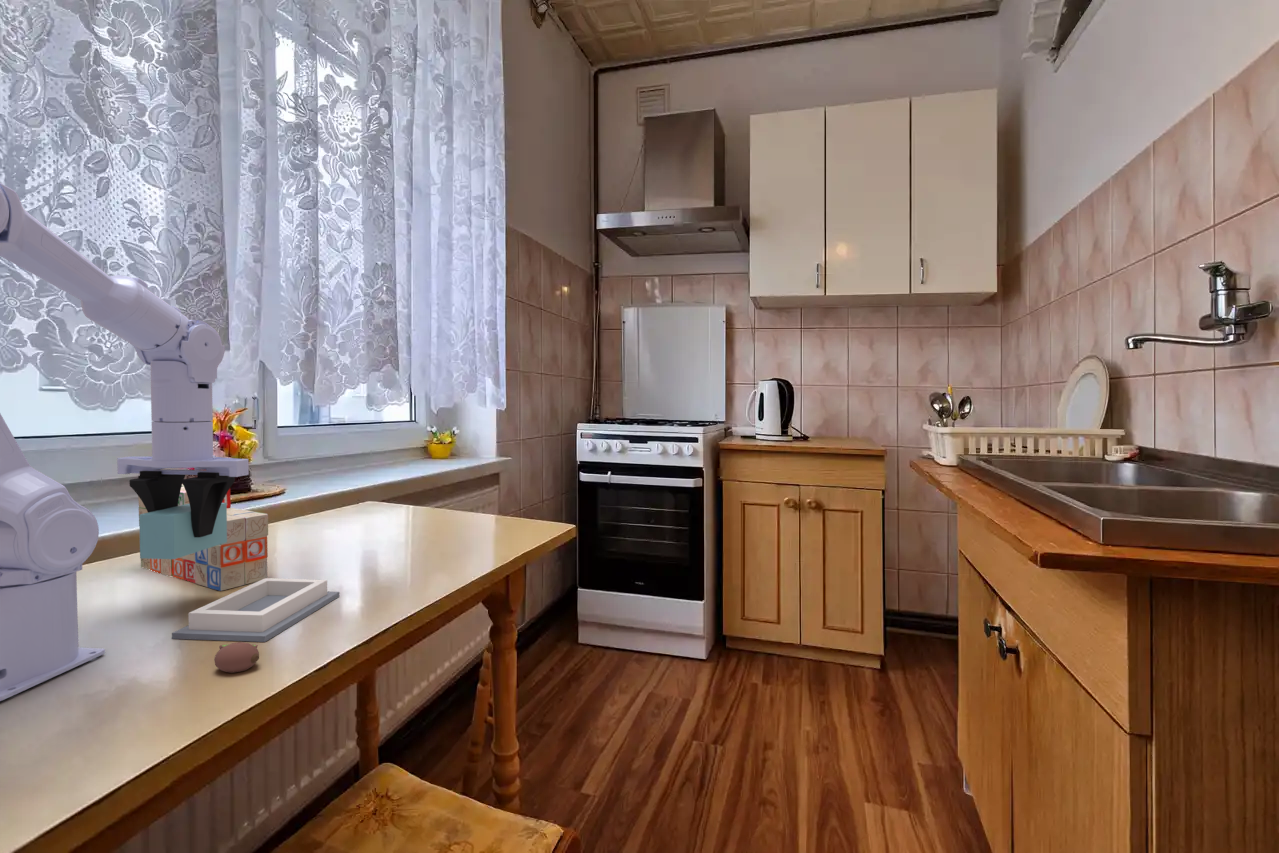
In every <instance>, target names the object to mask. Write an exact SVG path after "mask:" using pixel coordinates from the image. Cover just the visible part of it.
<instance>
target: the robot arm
mask: <svg viewBox="0 0 1279 853" xmlns="http://www.w3.org/2000/svg"><path fill="white" fill-rule="evenodd" d="M0 257H2V258H3V259H6V260H7V261H8V262H11V263H12V264H15V265H16V266H18V267H20V268H21V269H23V270H26V271H27V272H28V273H31V274H32V275H34V276H35V277H38V278H40V279H41V280H43V281H45V282H47V283H49V284H50V285H52V286H54V287H56V288H58V289H60V290H62V291H63V292H66V293H67V294H69V295H71V296H72V297H75V298H77V299H78V300H79V301H80V303H81V310H82V313H83V314H84V316H85V317H86V318H87V319H88V320H89V321H91V322H93V323H95V324H97V325H98V326H100V327H102V328H104V329H105V330H107V331H108V332H110V333H112V334H114V335H115V336H117V337H119V338H121V339H122V340H124V341H126V342H127V343H129V344H130V345H131V346H132V347H133V348H134V349H135V352H136V355H137V356H138V358H139V360H141V362H142V363H143V364H144V365H149V367H150V404H151V406H150V410H151V414H150V416H151V456H147V455H146V456H141V455H139V456H134V455H133V456H124V457H117V459H116V460H117V462H116V463H117V470H116V471H117V474H118V475H128V474H129V475H130V474H139V475H138V477H137V478H132V479H131V478H130V479H129V481H128V484H129V487H130V488H131V489H132V490H133V491H134V493H135V494H137V496H139V498H140V499H141V500H142V502H143V504H144V506H145V507H146V509H147V512H153V511H158V510H162V509H167V508H171V507H176V506H178V500H179V495H180V490H181V487H182V484H183V486H184V488H185V490H186V493H187V496H188V499H189V503H190V508H191V521H192V530H193V535H194V537H203V536H207V535H210V534H212V532H213V528H214V525H215V521H216V518H217V514H218V511H219V509H220V506H221V504H222V502H223V499H224V497H225V496H226V494H227V492H228V490H229V489H230V490H231V487H233V486H232V485H233V484H234V483H235V481H236V480H235V478H238V477H243V476H248V475H250V474H249V470H250V468H249V458H232V457H221V456H216V455H214V430H213V429H214V426H213V425H214V424H213V421H214V419H213V415H214V414H213V384H214V383H215V382H216V379H218V367H219V365H220V364H221V362H222V361H223V359H224V357H225V352H226V345H223V342H222V338H221V336H220V334H219V332H218V331H217V330H216V329H215V328H214V327H212V326H211V325H210V324H209V323H207V322H205V321H203V320H201V319H189V318H188V317H187V316H186V315H184V314H183V313H182V310H181V309H180V308H178V307H177V306H176V305H171V304H169V303H168V302H167V301H165V300H163V299H162V298H160V297H159V296H158V295H156V294H155V293H153V291H150V290H149V289H148V286H149V285H148V283H147V282H145V281H144V280H142V279H141V278H140V277H131V276H128V275H123V274H115V275H108V274H107V273H106V272H105V271H104V270H102V269H101V268H100V267H98V266H97V265H96V264H94V262H92V261H91V260H89V258H86V257H85V256H84V255H83V254H82V253H81V252H79V251H78V250H77V249H75V248H74V247H73V246H72V245H70V244H69V243H68V242H66V241H65V240H64V239H62V238H61V237H60V236H59V235H58V234H56V233H55V232H53V231H52V230H51V229H50V228H48V227H47V226H46V225H45V224H43V223H42V222H40V221H39V220H38V219H37V218H36V217H35V216H34V215H32V214H30V212H28V211H27V210H26V209H25V208H24V207H23V205H22V202H21V200H20V197H19V194H18V193H17V192H16V191H15V190H14V189H12V188H11V187H9V186H7V185H5V184H4V183H2V182H0ZM24 454H25V453H24V452H23V451H22V449H21V447H20V446H19V444H18V442H17V440H16V439H15V437H14V435H13V432H11V430H10V428H9V427H8V425H7V423H6V421H5V419H4V417H3V415H2V414H1V413H0V702H2V701H4V700H6V699H9V698H10V697H13V696H15V695H18V694H19V693H22V692H24V691H26V690H28V689H30V688H31V689H32V687H36V686H37V685H39V684H41V683H44V682H47V681H48V680H50V679H52V678H54V677H57V676H59V675H61V674H63V673H65V672H68V671H70V670H72V669H74V668H76V667H78V666H81V665H83V664H86V663H87V662H90V661H92V660H93V659H96V658H98V657H100V656H103V655H104V654H105V653H106V649H105V648H103V647H101V648H98V647H97V648H96V647H79V624H78V623H79V622H78V621H79V620H78V618H79V616H78V582H77V580H78V579H77V578H78V577H77V572H80V571H83V564H84V563H85V562H86V560H88V558H90V556H91V555H92V553H94V550H95V548H96V546H97V544H98V540H99V534H100V528H99V524H98V520H97V519H96V518H97V517H96V516H95V515H94V513H93V512H92V511H90V510H89V509H88V508H87V507H85V506H83V505H82V504H79V502H77V501H76V500H74V499H73V497H72V496H71V495H70V492H69V491H68V489H67V487H66V486H65V485H63V484H62V483H60V482H58V481H56V480H55V479H53V478H52V477H50V476H48V475H46V474H44V473H43V472H41V471H39V470H37V469H36V468H34V467H32V466H31V465H30V463H29V461H28V460H27V458H26V456H25V455H24ZM186 475H187V476H190V475H191V476H196V477H190V478H189V477H188V478H185V477H186Z"/></svg>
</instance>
